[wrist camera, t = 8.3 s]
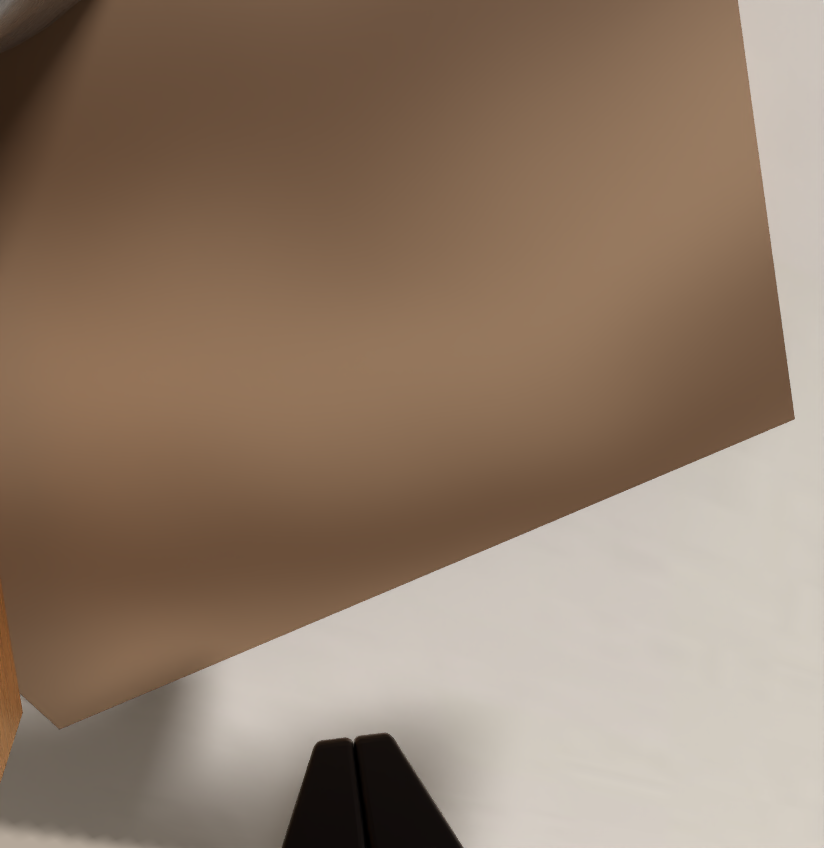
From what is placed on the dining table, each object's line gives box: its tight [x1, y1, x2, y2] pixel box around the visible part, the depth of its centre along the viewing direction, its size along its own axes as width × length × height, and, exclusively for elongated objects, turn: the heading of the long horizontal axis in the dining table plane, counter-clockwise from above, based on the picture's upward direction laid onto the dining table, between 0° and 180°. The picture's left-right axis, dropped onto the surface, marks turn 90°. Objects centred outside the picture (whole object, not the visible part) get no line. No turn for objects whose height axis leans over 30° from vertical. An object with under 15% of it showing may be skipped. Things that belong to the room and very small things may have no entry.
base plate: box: [0, 0, 795, 729], centre depth 9 cm, size 18×14×1 cm
